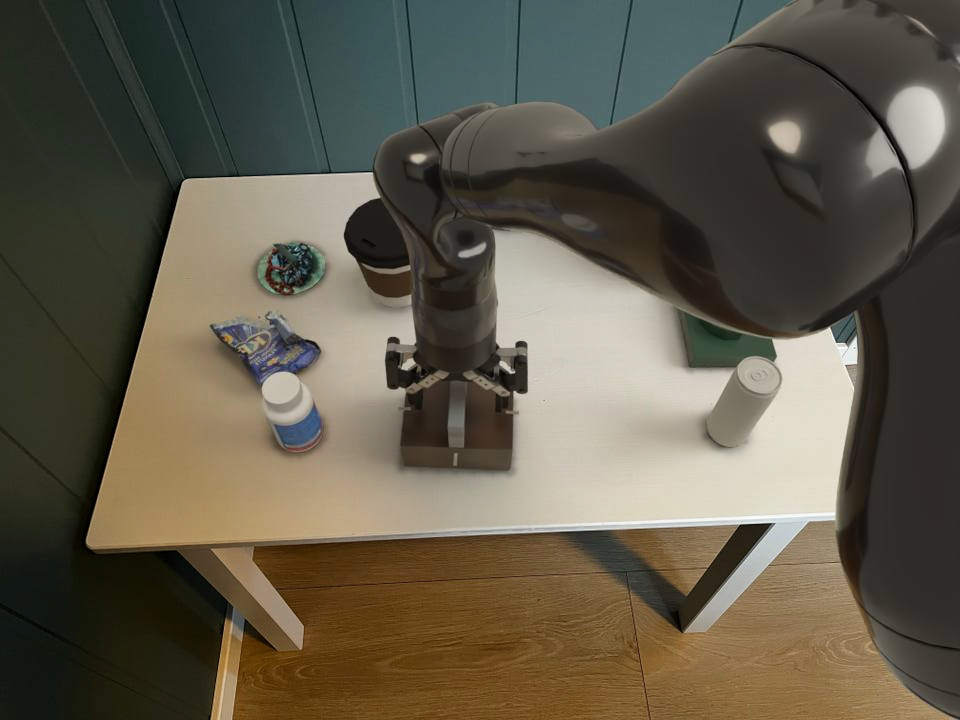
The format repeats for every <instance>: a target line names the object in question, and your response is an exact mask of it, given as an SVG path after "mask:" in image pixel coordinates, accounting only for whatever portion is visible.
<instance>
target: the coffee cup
mask: <svg viewBox="0 0 960 720" xmlns="http://www.w3.org/2000/svg"><path fill="white" fill-rule="evenodd" d="M344 227H345V228H344V231H343V241H344V243H345V247H346V249H347V253H349V254H350V255H351V256H352V257H353V259H355V261H356V263H357V265H358V267H359V270H360V272H361V275H362V276H363V279H364V281H365V283H366V285H367V287H368V288H369V289H370V291H371V294H372V295H373V297H374V298H375V299H376V300H377V301H378V302H379V303H380V304H382V305H384V306H386V307H388V308H392V309H401V308H405V307H409V306H410V305H412V303H411V290H412V279H411V271H410V262H409V255H408V251H407V248H406V245H405V242H404V240H403V237H402V235H401V233H400V230H399V229H398V227H397V225H396V223H395V222H394V220H393V218H392V217H391V215H390V213H389V212H388V210H387V208H386V207H385V205H384V203H383V202H382V200H381V198H380V197H378V198H373V199H369V200H368V201H366V202H365V203H363V204H361V205H359V206H358V207H356V208H355V210H354V211H353V212H352V213H351V215H350V216H349V217H348V219H347V221H346V223H345V226H344Z"/></svg>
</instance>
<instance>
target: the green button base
mask: <svg viewBox="0 0 960 720" xmlns="http://www.w3.org/2000/svg"><path fill="white" fill-rule="evenodd" d="M677 312H678V317H679V321H680V326H681V330H682V335H683V339H684V345H685V349H686V355H687V359H688V364H689V368H736V367H737V365H738V364H740V362H741V361H742V360H744V359H746V358H748V357H753V356H757V357H763V358H766V359H768V360H770V361H772V362H773V363H774V362H775V361H776V359H777V357H778V355H777V351H776V348H775V345H774V341H773V339H767V338H759V337H754V336H750V335H746V334H742V333H738V332H735V331H732V330H729V329H726V328H723V327H720V326H717V325H715V324H712V323H710V322H707V321H705V320H703V319H700V318H698V317H695V316H693V315H691V314H689V313H687V312H685V311H683V310H680V309H678V308H677Z"/></svg>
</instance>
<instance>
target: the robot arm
mask: <svg viewBox="0 0 960 720" xmlns="http://www.w3.org/2000/svg"><path fill="white" fill-rule="evenodd" d="M372 178H373V183H374V187H375V189H376V191H377V194H378V196H379V198H381V200H382V202H383V203H384V205H385V207H386V208H387V210H388V212H389V213H390V215H391V217H392V218H393V220H394V222H395V223H396V225H397V227H398V229H399V230H400V233H401V235H402V237H403V240H404V242H405V245H406V248H407V251H408V255H409V262H410V271H411V279H412V290H411V303H412V304H411V312H412V319H413V327H414V337H415V343H413V344H401V339H400V338H399V337H397V336H389V337H387V341H386V348H385V355H384V367H385V378H386V387H387V389H389V390H390V391H391V390H392V391H394V390H395V391H396V390H398V389H399V388H402V389H404V391H405V393H406V392H407V397H408V403H409V404H410V405H415V410H422V403H423V387H424V388H429V387H430V386H431V385H433V384H434V383H436V382H437V381H438V380H440V379H442V381H463V382H473V381H474V382H476V383H477V384H478V385H480V386H481V387H483V388H484V389H485V390H490V389H491V390H493V391H494V392H495V393H496V399H495V413H502V408H505V409H506V408H507V407H508V404H509V395H510V393H511V392H513V391H514V392H515V393H517V394H519V395H525V394H527V393H528V392H529V378H528V377H529V357H528V356H529V355H528V354H529V349H528V346H529V345H528V342H526V341H525V340H517V341H516V342H515V343H514V347H500V345H499V344H498V343H497V323H498V322H497V321H498V307H499V300H498V289H497V285H496V248H497V246H496V236H495V233H494V229H493V228H496V229H500V230H507V231H511V232H516V233H517V232H518V233H523V234H524V233H525V234H529V235H534V236H537V237H541V238H543V239H546V240H548V241H550V242H553V243H554V244H557V245H558V246H560V247H562V248H564V249H565V250H567V251H569V252H571V253H573V254H575V255H577V256H578V257H580V258H581V259H583V260H585V261H587V262H589V263H590V264H592V265H594V266H596V267H598V268H599V269H601V270H603V271H605V272H607V273H608V274H610V275H612V276H614V277H616V278H619V279H620V280H623V281H624V282H626V283H629V284H630V285H633V286H634V287H636V288H638V289H640V290H642V291H644V292H645V293H648V294H650V295H651V296H652V297H654V298H657V299H659V300H661V301H663V302H665V303H667V304H668V305H671V306H672V307H674V308H676V309H677V310H678V309H680V310H683V311H685V312H687V313H689V314H691V315H693V316H695V317H698V318H700V319H703V320H705V321H707V322H710V323H712V324H715V325H717V326H720V327H723V328H726V329H729V330H732V331H735V332H738V333H742V334H746V335H750V336H754V337H759V338H767V339H772V340H776V341H787V340H797V339H800V338H805V337H806V338H807V337H811V336H814V335H816V334H819V333H821V332H824V331H826V330H828V329H829V328H831V327H833V326H835V325H836V324H838V323H840V322H841V321H843V320H845V319H846V318H847V317H849V316H851V315H852V314H853V320H854V325H855V333H856V334H855V335H856V349H857V357H856V375H855V380H854V381H855V382H854V388H853V393H852V394H853V395H852V401H851V405H850V406H851V407H850V412H849V418H848V422H847V427H846V434H845V439H844V446H843V452H842V458H841V463H840V468H839V475H838V482H837V488H836V498H835V512H834V513H835V516H834V517H835V518H834V519H835V520H834V521H835V523H834V524H835V525H834V526H835V545H836V550H837V554H838V558H839V562H840V566H841V569H842V572H843V575H844V578H845V581H846V583H847V586H848V588H849V590H850V592H851V594H852V597H853V599H854V601H855V604H856V606H857V610H858V611H859V613H860V616H861V618H862V620H863V623H864V625H865V628H866V630H867V633H868V635H869V638H870V640H871V642H872V644H873V646H874V648H875V650H876V651H877V653H878V655H879V657H880V658H881V660H882V661H883V663H884V664H885V667H887V669H888V670H889V672H890V673H891V674H892V675H893V677H895V679H896V680H897V681H898V682H899V683H900V684H901V685H902V686H903V687H904V688H905V689H906V690H908V692H909V693H911V694H912V695H914V696H915V697H916V698H918V700H920V701H922V702H923V703H924V704H926V705H928V706H929V707H931V708H932V709H933V710H936V711H938V712H940V713H941V714H944V715H945V716H947V717H949V718H951V719H953V720H960V0H792V1H790V2H788V3H787V4H786V5H785V6H783V7H781V8H780V9H778V10H776V11H775V12H773V13H771V14H770V15H768V17H766V18H764V19H763V20H761V21H760V22H758V23H756V24H755V25H754V26H752V27H750V29H748V30H746V31H745V32H743V33H742V34H740V35H739V36H738V37H736V38H735V39H733V40H731V41H730V42H728V43H727V44H726V45H724V46H723V47H721V48H720V49H718V50H717V51H714V53H712V54H710V55H709V56H708V57H707V58H705V59H704V60H703V61H700V63H698V64H697V65H696V66H695V67H693V68H692V69H690V70H688V72H687V73H685V74H683V75H682V76H681V77H680V78H679V79H678V80H676V82H674V84H673V85H672V86H671V87H670V89H668V91H667V92H666V93H665V94H664V95H663V96H662V97H660V98H659V99H657V100H656V101H655V102H653V103H652V104H650V105H649V106H647V107H646V108H643V109H642V110H640V111H638V112H636V113H634V114H632V115H629V116H628V117H626V118H624V119H622V120H619V121H618V122H615V123H613V124H610V125H608V126H605V127H603V128H600V129H599V128H598V126H597V124H595V122H593V120H591V119H590V118H589V117H587V116H586V115H585V114H583V113H582V112H580V111H579V110H578V109H575V108H573V107H571V106H570V105H566V104H563V103H558V102H554V101H539V100H538V101H525V102H519V103H512V104H507V105H499V104H497V103H495V102H491V101H490V102H489V101H487V102H479V103H476V104H472V105H468V106H465V107H462V108H459V109H456V110H453V111H450V112H447V113H445V114H442V115H439V116H436V117H434V118H431V119H429V120H426V121H424V122H420V123H418V124H416V125H412V126H409V127H406V128H403V129H400V130H398V131H397V132H394V133H392V134H390V135H388V136H387V137H386V138H384V139H383V141H382V142H381V143H380V144H379V146H378V147H377V150H376V151H375V155H374V159H373V163H372ZM409 359H412V360H413V362H414V363H413V365H411V366H410V367H409V368H407V369H402V368H403V365H405V364H406V363H407V362H408V360H409ZM501 362H504V363H505V364H506V365H507V367H508V368H510V369H509V370H510V371H508V370H507V369H506V368H505V367H504V366H502V365H501ZM510 372H512V373H510Z"/></svg>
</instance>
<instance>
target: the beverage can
mask: <svg viewBox="0 0 960 720" xmlns="http://www.w3.org/2000/svg"><path fill="white" fill-rule="evenodd" d="M783 379H784V378H783V373H782V371H781V369H780V367H778V365H777V364H776V363H774V362H772V361H770V360H768V359H766V358H763V357H757V356H753V357H748V358H746V359H744V360H742V361H741V362H740V364H738V365H737V367H734V370H733V372H732V373H731V375H730V377H729V379H728V381H727V383H726V384H725V387H724V388H723V391H722V392H721V394H720V395H719V397H718V400H717V401H716V403H715V405H714V406H713V409H712V411H711V413H710V414H709V416H708V418H707V420H706V430H707V432H708V435H709V436H710V438H711V439H712V440H713V441H714V442H715V443H717V444H719V445H721V446H724V447H727V448H735V447H739V446H741V445H743V444H744V443H745V442H746V441H747V439H748V438H749V436H750V434H751V433H752V432H753V431H754V429H755V427H756V425H758V423H759V421H760V420H761V419H762V417H763V416H764V414H765V413H766V411H767V410H768V408H769V407H770V406H771V404H772V402H773V401H774V400H775V398H776V396H777V395H778V393H779V392H780V390H781V388H782V384H783Z"/></svg>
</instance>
